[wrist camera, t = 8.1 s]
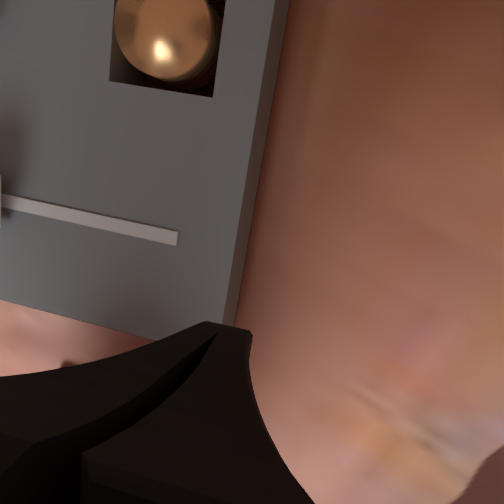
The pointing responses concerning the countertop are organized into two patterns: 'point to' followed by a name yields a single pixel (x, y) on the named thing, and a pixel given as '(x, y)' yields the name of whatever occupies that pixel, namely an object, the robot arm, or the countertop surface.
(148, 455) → the robot arm
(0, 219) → the tan rectangular block
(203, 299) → the panel
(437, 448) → the countertop surface
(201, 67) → the push button
